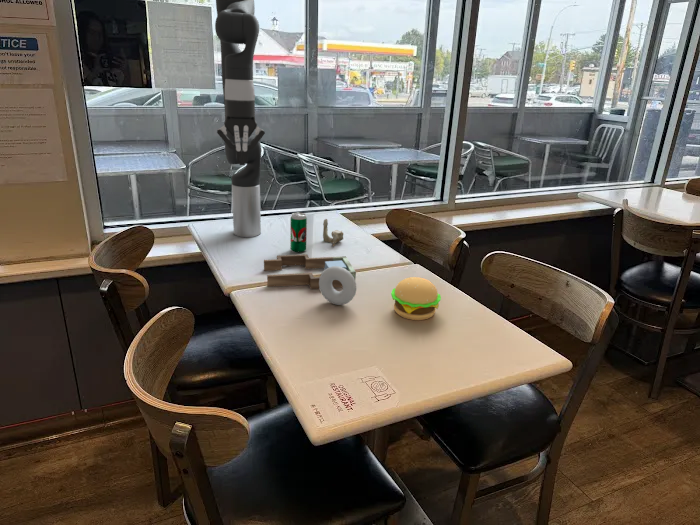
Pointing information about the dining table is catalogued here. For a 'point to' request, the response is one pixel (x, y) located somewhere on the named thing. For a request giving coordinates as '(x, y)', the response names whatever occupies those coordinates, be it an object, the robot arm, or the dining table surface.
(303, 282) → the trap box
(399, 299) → the toy cheeseburger
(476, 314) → the dining table surface
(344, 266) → the block
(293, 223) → the soda can
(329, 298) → the donut
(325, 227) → the bone
